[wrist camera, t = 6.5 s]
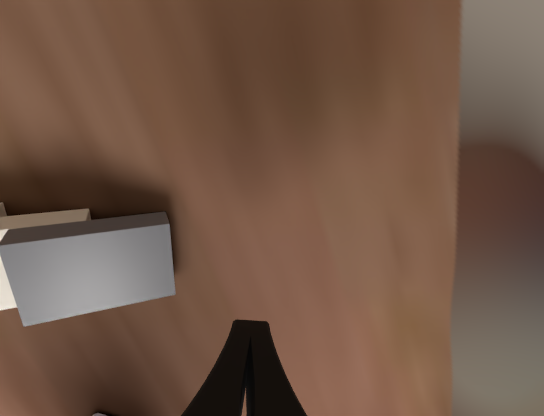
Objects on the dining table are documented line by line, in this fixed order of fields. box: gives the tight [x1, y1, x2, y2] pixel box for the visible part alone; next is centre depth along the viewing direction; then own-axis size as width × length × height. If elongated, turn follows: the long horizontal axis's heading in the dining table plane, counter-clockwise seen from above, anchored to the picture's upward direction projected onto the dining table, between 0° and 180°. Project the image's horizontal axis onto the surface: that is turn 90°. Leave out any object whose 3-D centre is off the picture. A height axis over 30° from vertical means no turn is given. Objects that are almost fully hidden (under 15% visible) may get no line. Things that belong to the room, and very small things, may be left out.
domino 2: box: [0, 212, 175, 327], centre depth 16 cm, size 2×4×7 cm
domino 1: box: [0, 208, 91, 310], centre depth 16 cm, size 2×4×7 cm
